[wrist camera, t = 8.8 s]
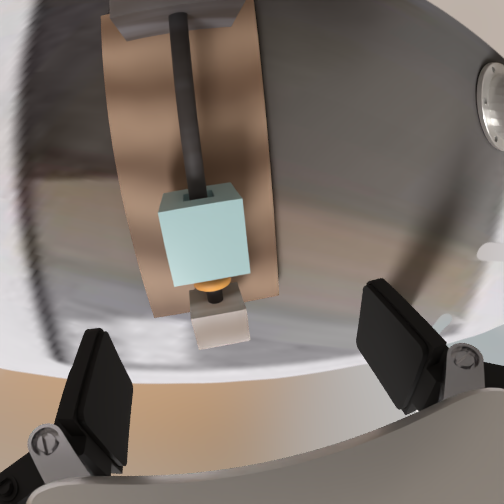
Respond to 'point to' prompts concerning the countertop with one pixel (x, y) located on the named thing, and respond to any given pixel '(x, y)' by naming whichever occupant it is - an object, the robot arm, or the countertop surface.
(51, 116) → the countertop surface
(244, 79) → the linear slide rail
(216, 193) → the sleeve
